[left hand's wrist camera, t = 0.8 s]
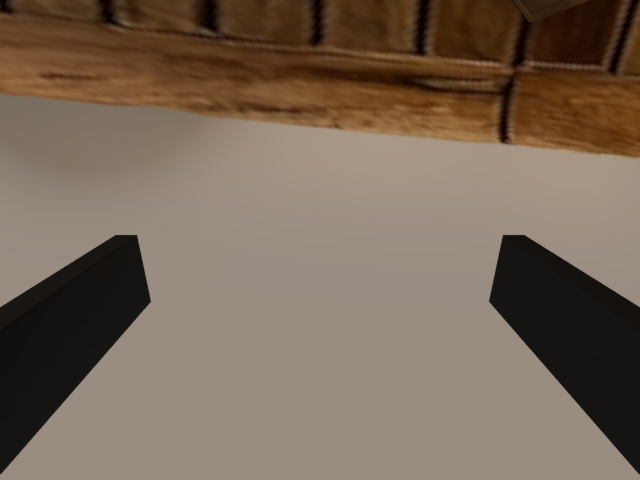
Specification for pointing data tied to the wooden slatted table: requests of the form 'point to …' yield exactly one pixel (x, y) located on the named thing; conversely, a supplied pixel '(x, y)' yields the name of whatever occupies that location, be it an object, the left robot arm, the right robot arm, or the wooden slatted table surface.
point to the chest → (544, 7)
